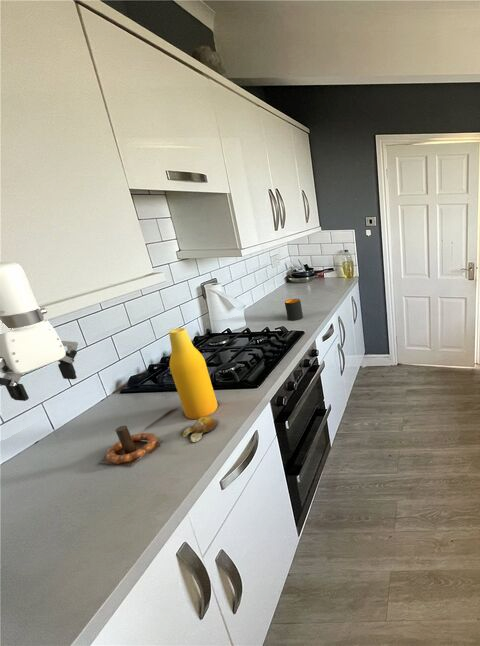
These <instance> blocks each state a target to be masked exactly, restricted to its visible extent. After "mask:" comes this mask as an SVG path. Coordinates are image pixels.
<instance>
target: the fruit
mask: <svg viewBox="0 0 480 646" xmlns="http://www.w3.org/2000/svg"><path fill="white" fill-rule="evenodd" d="M216 428H217V422H216V420H215V419H214V418H213V417H211V416H206V417H202V418H199V419H196V421H195V422H194V424H193V426H192V427H190V426H189V427H187V428H185V430H183V433H182V438H186V437H188V435H189V434H191V433H192V434H191V435H190V441H189V442H190V443H196V442H199V441H201V440H202V439H203V434H204V433H210V432H212V431H214V430H216Z"/></svg>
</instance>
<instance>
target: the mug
mask: <svg viewBox="0 0 480 646" xmlns="http://www.w3.org/2000/svg"><path fill="white" fill-rule="evenodd" d="M284 306H285V310H286V317H287V320H288V321H290V322H291V321H292V322H293V321H299V320H302V319H303V318H304V313H303V308H302V304H301V299H300V298H290V299H287V300H285V301H284Z"/></svg>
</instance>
